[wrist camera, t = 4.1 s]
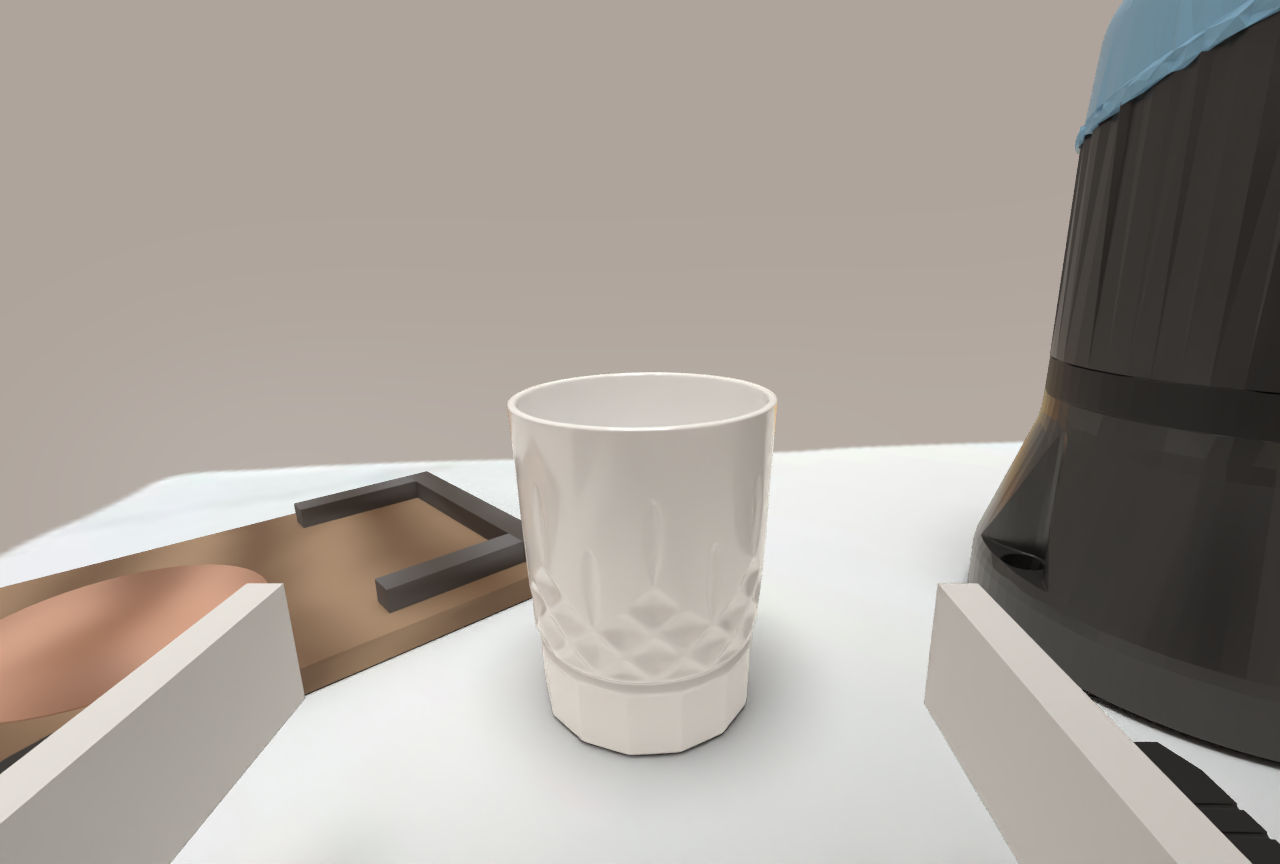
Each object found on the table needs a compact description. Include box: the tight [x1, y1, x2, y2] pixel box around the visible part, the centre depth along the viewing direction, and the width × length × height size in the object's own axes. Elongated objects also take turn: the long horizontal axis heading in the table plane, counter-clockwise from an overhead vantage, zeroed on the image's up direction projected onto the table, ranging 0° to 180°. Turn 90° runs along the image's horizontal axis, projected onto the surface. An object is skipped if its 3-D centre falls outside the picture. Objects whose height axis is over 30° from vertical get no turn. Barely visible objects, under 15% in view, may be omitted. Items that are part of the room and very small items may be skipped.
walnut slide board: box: [0, 472, 532, 762], centre depth 26 cm, size 22×15×2 cm
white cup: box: [507, 372, 777, 755], centre depth 20 cm, size 8×8×10 cm
